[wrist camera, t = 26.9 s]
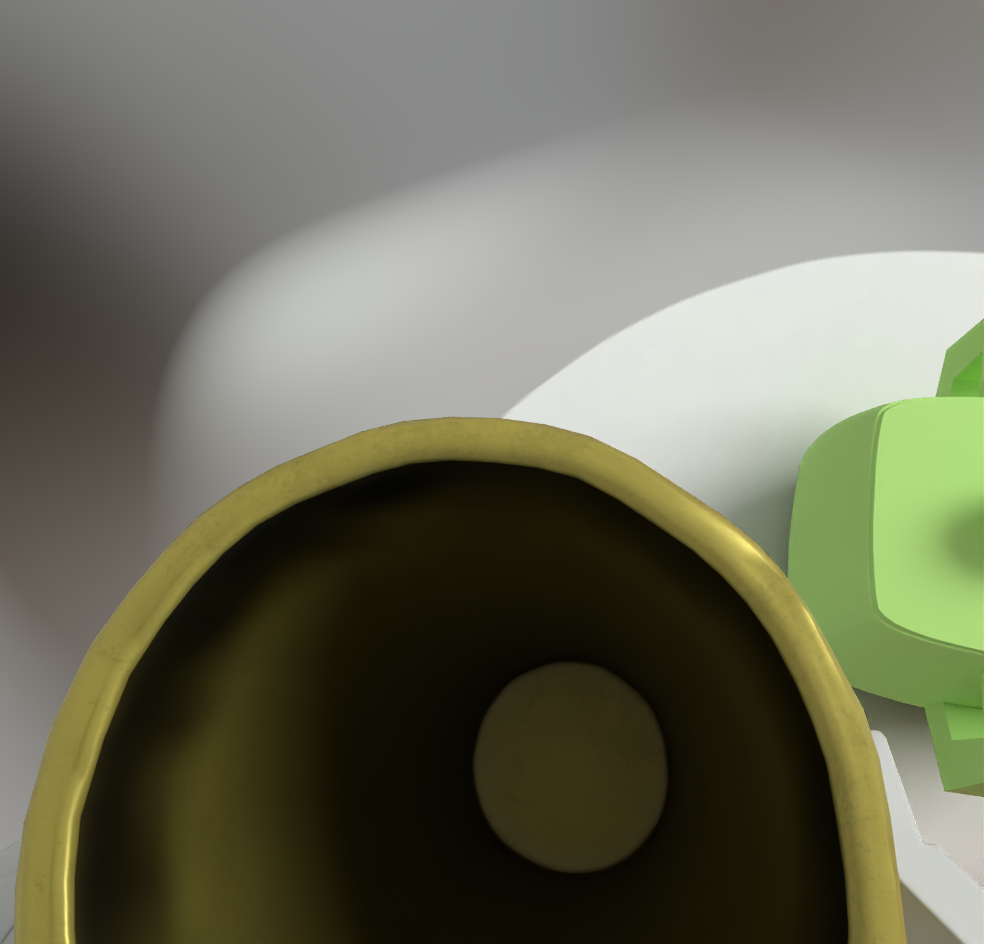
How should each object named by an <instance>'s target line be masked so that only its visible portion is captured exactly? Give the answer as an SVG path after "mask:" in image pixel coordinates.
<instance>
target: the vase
mask: <svg viewBox="0 0 984 944" xmlns="http://www.w3.org/2000/svg"><path fill="white" fill-rule="evenodd" d="M14 944H907V940H906V932H905V924H904V916H903V907H902V899H901V891H900V883H899V875H898V868H897V861H896V853H895V846H894V838H893V831H892V824H891V816H890V811H889V806H888V801H887V796H886V791H885V785H884V780H883V774H882V769H881V763H880V757H879V754H878V751H877V748H876V745H875V742H874V739H873V736H872V733H871V730H870V727H869V724H868V721H867V718H866V715H865V712H864V709H863V707H862V705H861V704H860V702H859V700H858V698H857V696H856V694H855V693H854V691H853V689H852V687H851V685H850V683H849V682H848V680H847V678H846V676H845V674H844V672H843V670H842V668H841V666H840V664H839V662H838V660H837V659H836V657H835V655H834V653H833V651H832V649H831V648H830V646H829V644H828V642H827V640H826V639H825V637H824V635H823V633H822V631H821V629H820V628H819V626H818V624H817V622H816V620H815V619H814V617H813V615H812V613H811V612H810V610H809V609H808V607H807V606H806V604H805V603H804V601H803V600H802V598H801V597H800V595H799V594H798V593H797V591H796V590H795V588H794V587H793V585H792V584H791V582H790V581H789V579H788V578H787V577H786V575H785V574H784V572H783V571H782V570H781V569H780V568H779V567H778V566H777V565H776V563H775V562H774V561H773V560H772V559H771V558H770V557H769V556H768V555H767V554H766V553H765V552H764V550H763V549H762V548H761V547H760V546H759V545H758V544H757V543H756V542H755V541H753V540H752V539H751V538H750V537H749V536H747V535H746V534H745V533H744V532H742V531H741V530H740V529H739V528H737V527H736V526H735V525H734V524H733V523H731V522H730V521H729V520H728V519H726V518H725V517H724V516H722V515H721V514H719V513H718V512H716V511H715V510H713V509H712V508H710V507H709V506H707V505H706V504H704V503H703V502H701V501H700V500H698V499H697V498H695V497H694V496H692V495H691V494H689V493H688V492H686V491H685V490H683V489H682V488H680V487H679V486H677V485H676V484H674V483H672V482H671V481H669V480H668V479H666V478H665V477H663V476H662V475H660V474H659V473H657V472H656V471H654V470H653V469H651V468H650V467H648V466H647V465H645V464H644V463H642V462H641V461H639V460H637V459H635V458H633V457H631V456H629V455H627V454H625V453H623V452H621V451H619V450H617V449H615V448H613V447H611V446H609V445H607V444H605V443H603V442H601V441H599V440H597V439H594V438H592V437H590V436H587V435H583V434H579V433H576V432H572V431H568V430H564V429H560V428H557V427H553V426H549V425H545V424H538V423H531V422H523V421H516V420H509V419H501V418H471V417H444V418H433V419H423V420H411V421H402V422H398V423H394V424H390V425H386V426H382V427H378V428H374V429H370V430H366V431H362V432H360V433H357V434H355V435H352V436H349V437H347V438H345V439H342V440H340V441H337V442H334V443H332V444H329V445H327V446H324V447H322V448H319V449H317V450H314V451H312V452H309V453H307V454H304V455H302V456H299V457H297V458H295V459H292V460H290V461H287V462H285V463H282V464H280V465H278V466H275V467H274V468H272V469H270V470H268V471H267V472H265V473H263V474H261V475H260V476H258V477H256V478H255V479H252V480H251V481H249V482H247V483H246V484H244V485H242V486H240V487H238V488H237V489H236V490H234V491H233V492H231V493H230V494H229V495H227V496H226V497H224V498H223V499H221V500H220V501H219V502H217V503H216V504H215V505H213V506H212V507H210V508H209V509H207V510H206V511H205V512H203V513H202V514H201V515H200V516H199V517H198V518H197V519H196V520H195V521H194V522H193V523H192V524H191V525H189V527H187V528H186V530H184V531H183V532H182V533H181V534H180V535H179V536H178V537H177V538H176V539H175V540H174V541H173V542H172V543H171V544H170V545H169V546H168V547H167V548H166V549H165V550H164V551H163V553H162V554H161V555H160V556H159V557H158V559H157V560H156V561H155V562H154V563H153V564H152V566H151V567H150V568H149V569H148V570H147V571H146V573H145V574H144V575H143V576H142V577H141V578H140V580H139V581H138V582H137V583H136V584H135V585H134V587H133V588H132V589H131V590H130V592H129V593H128V594H127V596H126V597H125V599H124V600H123V601H122V603H121V604H120V605H119V607H118V608H117V609H116V611H115V612H114V614H113V615H112V617H111V618H110V619H109V620H108V622H107V623H106V625H105V626H104V627H103V629H102V630H101V631H100V633H99V634H98V636H97V637H96V638H95V640H94V641H93V643H92V644H91V646H90V648H89V650H88V652H87V654H86V656H85V658H84V660H83V662H82V664H81V666H80V668H79V671H78V672H77V674H76V676H75V679H74V681H73V683H72V685H71V687H70V689H69V691H68V693H67V695H66V697H65V699H64V701H63V704H62V706H61V708H60V710H59V712H58V714H57V716H56V718H55V720H54V722H53V725H52V727H51V730H50V733H49V735H48V738H47V742H46V746H45V749H44V753H43V757H42V760H41V764H40V767H39V771H38V775H37V778H36V781H35V785H34V789H33V792H32V796H31V800H30V803H29V807H28V810H27V814H26V817H25V821H24V827H23V833H22V840H21V848H20V855H19V862H18V869H17V876H16V883H15V904H14Z"/></svg>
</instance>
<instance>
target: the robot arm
mask: <svg viewBox="0 0 984 944" xmlns="http://www.w3.org/2000/svg"><path fill="white" fill-rule="evenodd" d="M871 733H872V736H873V739H874V742H875V745H876V748H877V751H878V754H879V757H880V763H881V769H882V774H883V780H884V785H885V791H886V796H887V801H888V806H889V811H890V816H891V824H892V831H893V838H894V846H895V853H896V861H897V868H898V875H899V883H900V891H901V899H902V907H903V916H904V924H905V932H906V940H907V944H984V888H983V887H982V886H981V885H980V884H979V883H978V882H977V881H976V880H975V879H973V878H972V877H971V876H970V875H969V874H968V873H967V872H966V871H965V870H964V869H963V868H961V867H960V866H959V865H958V864H957V863H956V862H955V861H954V860H953V859H952V858H951V857H950V856H948V855H947V854H946V853H945V852H944V851H943V850H942V849H941V848H940V847H939V846H938V845H933V844H926V843H923V841H922V838H921V835H920V833H919V830H918V827H917V824H916V821H915V818H914V816H913V813H912V810H911V807H910V804H909V801H908V799H907V796H906V793H905V790H904V787H903V785H902V782H901V779H900V776H899V773H898V770H897V768H896V765H895V762H894V759H893V756H892V753H891V751H890V748H889V745H888V742H887V739H886V737H885V736H884V735H883V734H882V733H881V732H880V731H876V730H871ZM21 840H22V838H21V839H20V840H18V841H17V842H15V843H13V844H11V845H10V846H8V847H6V848H4V849H3V850H1V851H0V944H14V904H15V883H16V876H17V869H18V862H19V855H20V848H21Z"/></svg>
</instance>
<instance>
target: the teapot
mask: <svg viewBox="0 0 984 944" xmlns="http://www.w3.org/2000/svg"><path fill="white" fill-rule="evenodd" d="M788 579H789V581H790V582H791V584H792V585H793V587H794V588H795V590H796V591H797V593H798V594H799V595H800V597H801V598H802V600H803V601H804V603H805V604H806V606H807V607H808V609H809V610H810V612H811V613H812V615H813V617H814V619H815V620H816V622H817V624H818V626H819V628H820V629H821V631H822V633H823V635H824V637H825V639H826V640H827V642H828V644H829V646H830V648H831V649H832V651H833V653H834V655H835V657H836V659H837V660H838V662H839V664H840V666H841V668H842V670H843V672H844V674H845V676H846V678H847V680H848V682H849V683H850V685H851V687H854V688H857V689H860V690H863V691H866V692H869V693H872V694H875V695H878V696H882V697H885V698H888V699H891V700H895V701H898V702H902V703H906V704H910V705H914V706H918V707H923V708H924V709H925V713H926V717H927V721H928V726H929V730H930V734H931V738H932V742H933V746H934V750H935V754H936V758H937V763H938V767H939V771H940V775H941V779H942V783H943V787H944V791H947V792H954V793H961V794H967V795H974V796H981V797H984V319H983V320H982V321H980V322H979V323H978V324H977V325H976V326H975V327H973V328H972V329H971V330H970V331H969V332H967V333H966V334H965V335H964V336H963V337H962V338H960V339H959V340H958V341H957V342H956V343H954V344H953V345H952V346H951V347H950V348H949V349H947V351H946V355H945V360H944V364H943V368H942V372H941V377H940V381H939V385H938V389H937V394H936V397H930V398H917V399H907V400H902V401H898V402H893V403H889V404H885V405H881V406H878V407H875V408H873V409H870V410H867V411H864V412H861V413H859V414H856V415H854V416H852V417H849V418H847V419H845V420H844V421H842V422H840V423H838V424H836V425H835V426H833V427H831V428H830V429H828V430H827V431H826V432H825V433H823V434H822V435H821V436H820V437H819V438H818V439H817V440H816V441H815V442H814V443H813V444H812V445H811V446H810V447H809V449H808V450H807V451H806V453H805V454H804V457H803V459H802V462H801V464H800V467H799V473H798V478H797V484H796V489H795V495H794V502H793V510H792V518H791V526H790V537H789V548H788Z"/></svg>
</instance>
